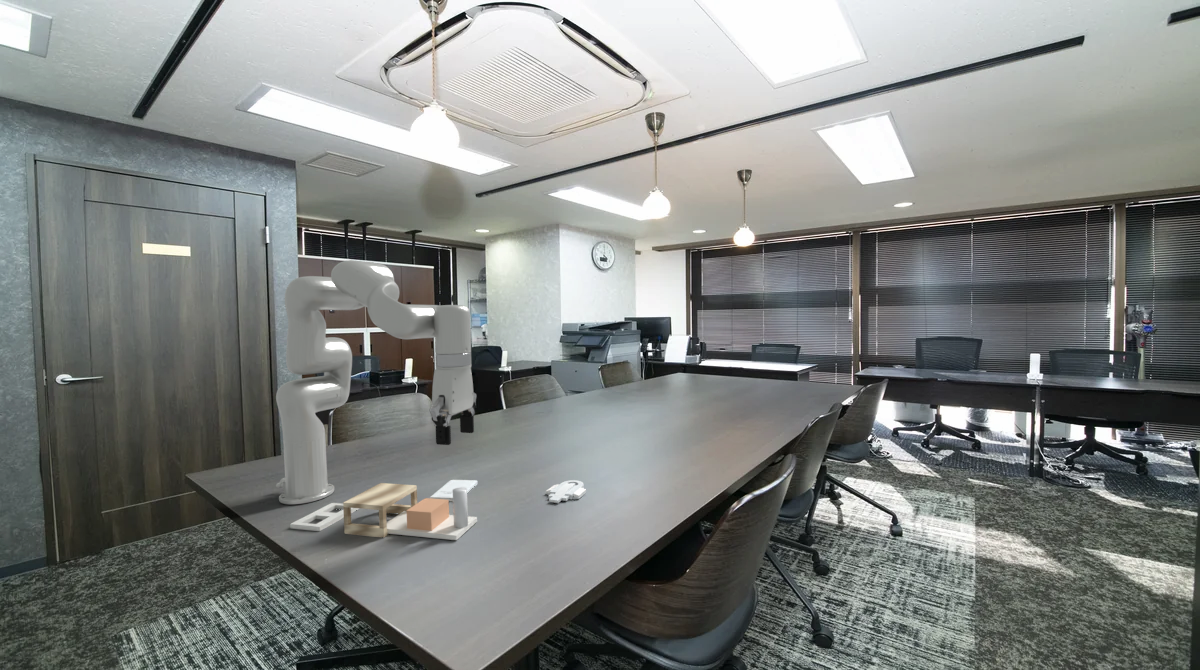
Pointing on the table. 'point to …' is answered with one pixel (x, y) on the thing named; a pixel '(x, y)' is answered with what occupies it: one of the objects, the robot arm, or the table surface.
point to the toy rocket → (566, 491)
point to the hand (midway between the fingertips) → (455, 438)
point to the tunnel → (378, 507)
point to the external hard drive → (447, 489)
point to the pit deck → (321, 518)
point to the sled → (435, 518)
